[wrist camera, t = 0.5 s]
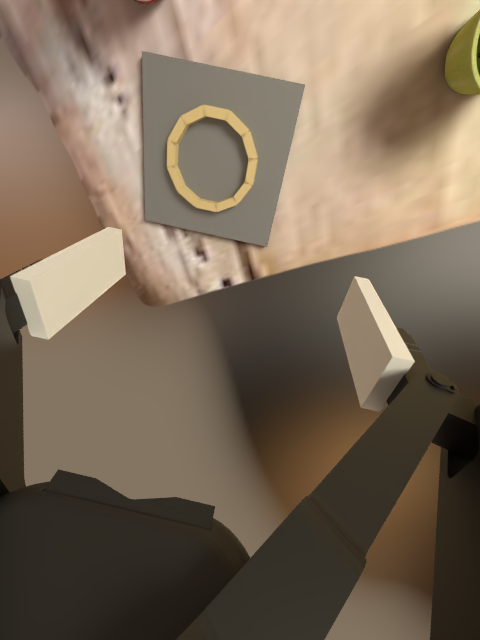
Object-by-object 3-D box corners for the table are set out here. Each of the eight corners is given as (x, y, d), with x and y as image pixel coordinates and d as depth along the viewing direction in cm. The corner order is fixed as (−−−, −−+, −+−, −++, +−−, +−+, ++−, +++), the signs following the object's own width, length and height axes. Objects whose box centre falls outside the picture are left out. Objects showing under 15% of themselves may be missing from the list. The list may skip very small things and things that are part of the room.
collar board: (145, 53, 31) (136, 48, 29) (304, 86, 30) (305, 82, 28) (147, 218, 41) (141, 222, 39) (267, 244, 40) (266, 249, 38)
